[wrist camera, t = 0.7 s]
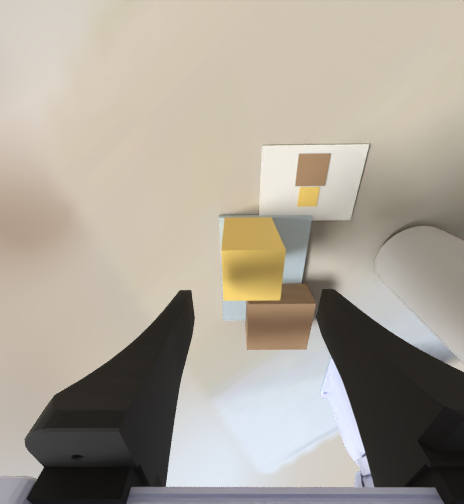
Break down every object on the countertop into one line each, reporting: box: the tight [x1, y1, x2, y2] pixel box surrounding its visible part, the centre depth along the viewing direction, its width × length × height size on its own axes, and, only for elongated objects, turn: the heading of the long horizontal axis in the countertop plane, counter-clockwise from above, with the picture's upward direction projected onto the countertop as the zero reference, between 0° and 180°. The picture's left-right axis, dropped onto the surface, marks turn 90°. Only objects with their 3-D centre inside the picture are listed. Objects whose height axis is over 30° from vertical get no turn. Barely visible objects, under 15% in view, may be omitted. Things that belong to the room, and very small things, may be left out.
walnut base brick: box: [246, 283, 316, 350], centre depth 22 cm, size 6×6×3 cm
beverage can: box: [375, 226, 464, 364], centre depth 16 cm, size 6×6×12 cm
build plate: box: [219, 215, 312, 320], centre depth 22 cm, size 12×8×1 cm, turn 1°
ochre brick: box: [221, 217, 286, 301], centre depth 17 cm, size 4×4×6 cm
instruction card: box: [259, 144, 369, 221], centre depth 18 cm, size 6×8×1 cm
